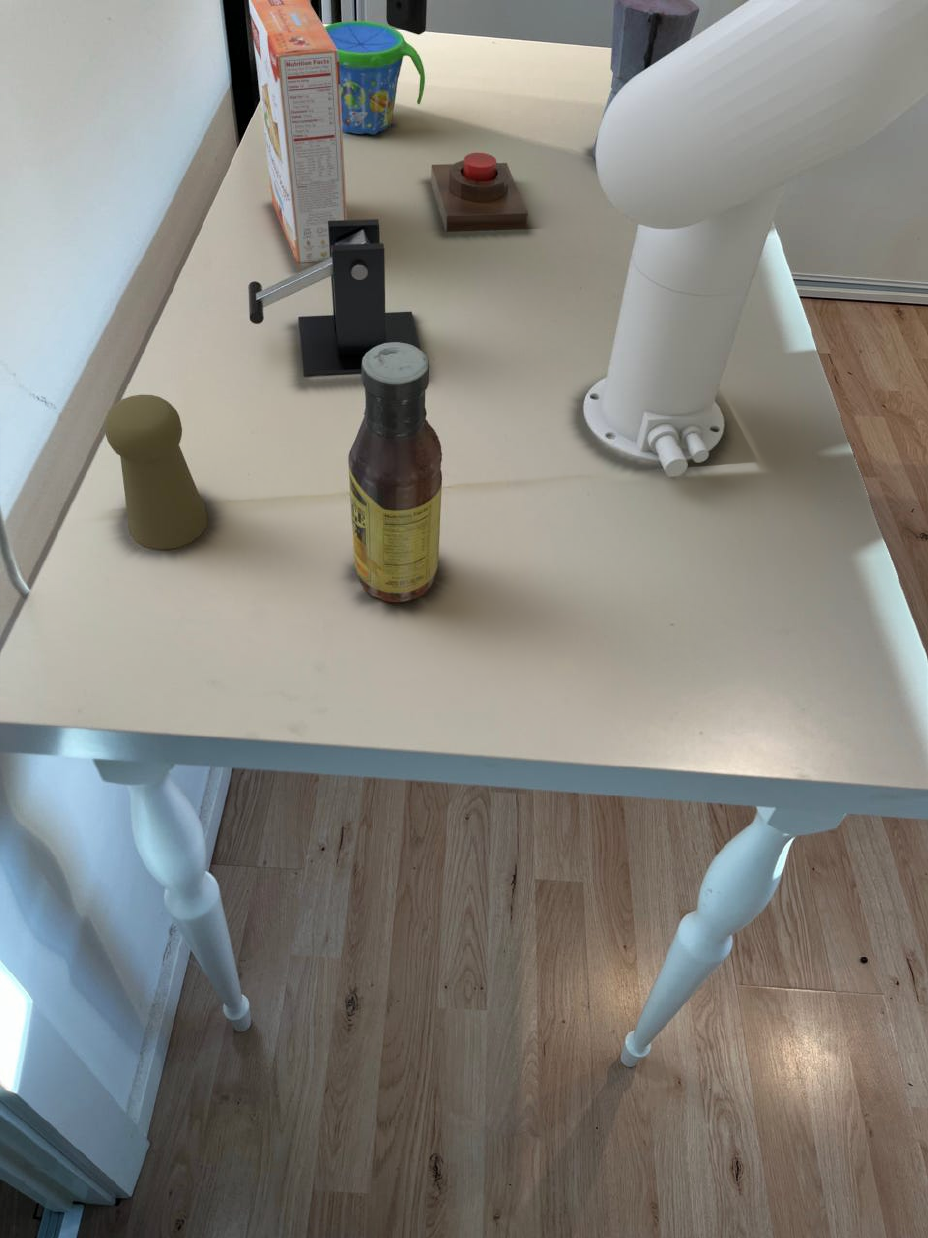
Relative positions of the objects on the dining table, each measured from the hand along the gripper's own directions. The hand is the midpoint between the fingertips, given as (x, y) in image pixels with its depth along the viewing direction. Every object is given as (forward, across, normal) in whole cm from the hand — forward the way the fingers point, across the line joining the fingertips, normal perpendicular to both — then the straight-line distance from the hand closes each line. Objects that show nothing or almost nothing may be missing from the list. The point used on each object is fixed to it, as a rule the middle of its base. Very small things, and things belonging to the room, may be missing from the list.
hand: (440, 10), depth 74 cm
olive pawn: (+27, -37, +1) cm, 45 cm away
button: (+23, +21, +7) cm, 32 cm away
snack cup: (+28, +31, +29) cm, 51 cm away
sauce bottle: (+26, -32, -17) cm, 45 cm away
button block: (+27, +21, +7) cm, 35 cm away
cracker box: (+27, +5, +18) cm, 33 cm away
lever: (+20, -12, +4) cm, 24 cm away
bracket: (+27, -10, +2) cm, 28 cm away
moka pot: (+27, +43, -3) cm, 51 cm away
